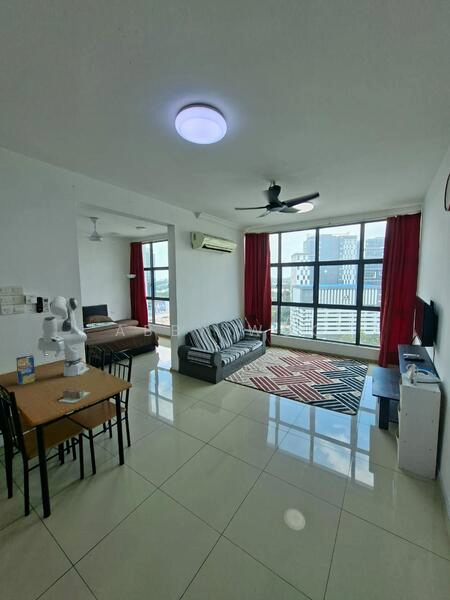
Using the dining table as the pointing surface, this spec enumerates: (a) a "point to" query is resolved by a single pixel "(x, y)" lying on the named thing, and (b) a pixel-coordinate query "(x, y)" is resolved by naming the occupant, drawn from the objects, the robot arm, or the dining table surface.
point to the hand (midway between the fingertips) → (51, 356)
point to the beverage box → (25, 369)
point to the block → (73, 393)
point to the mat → (73, 400)
